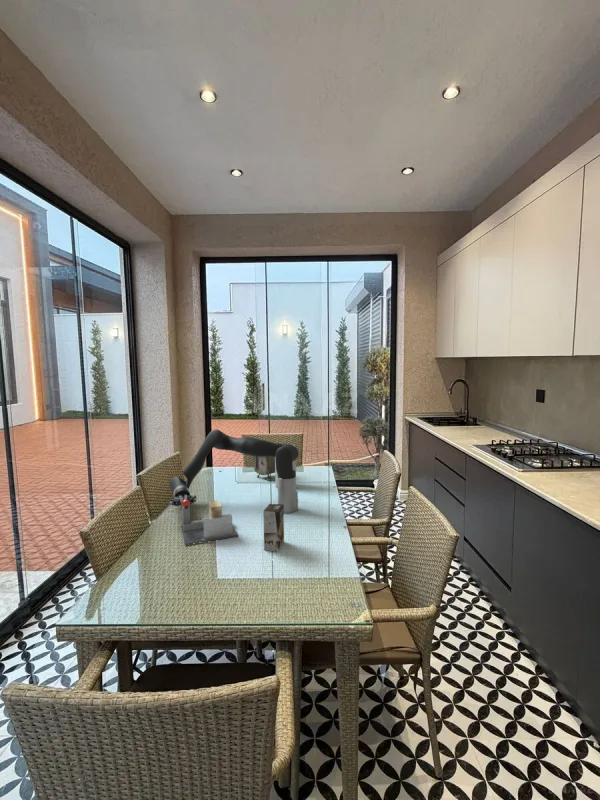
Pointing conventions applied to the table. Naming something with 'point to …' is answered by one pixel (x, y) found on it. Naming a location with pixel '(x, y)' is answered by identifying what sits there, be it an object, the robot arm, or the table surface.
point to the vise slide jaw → (187, 523)
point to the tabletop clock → (264, 465)
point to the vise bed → (199, 536)
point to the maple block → (215, 508)
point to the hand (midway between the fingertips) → (184, 506)
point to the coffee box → (273, 527)
